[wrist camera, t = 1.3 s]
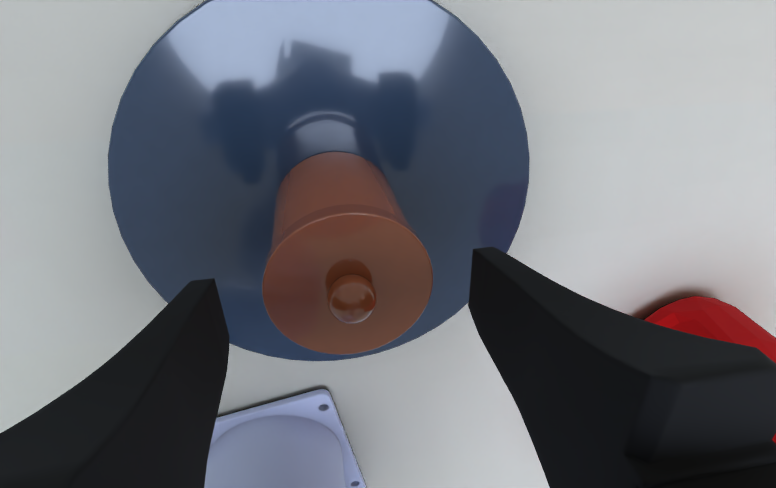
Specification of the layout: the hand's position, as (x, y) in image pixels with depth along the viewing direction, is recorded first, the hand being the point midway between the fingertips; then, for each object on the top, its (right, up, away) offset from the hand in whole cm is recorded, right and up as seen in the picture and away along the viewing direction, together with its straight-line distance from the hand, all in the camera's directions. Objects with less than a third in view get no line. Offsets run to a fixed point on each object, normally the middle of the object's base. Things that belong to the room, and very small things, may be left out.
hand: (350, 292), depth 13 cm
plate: (-1, +3, +6) cm, 7 cm away
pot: (-1, +3, +5) cm, 6 cm away
